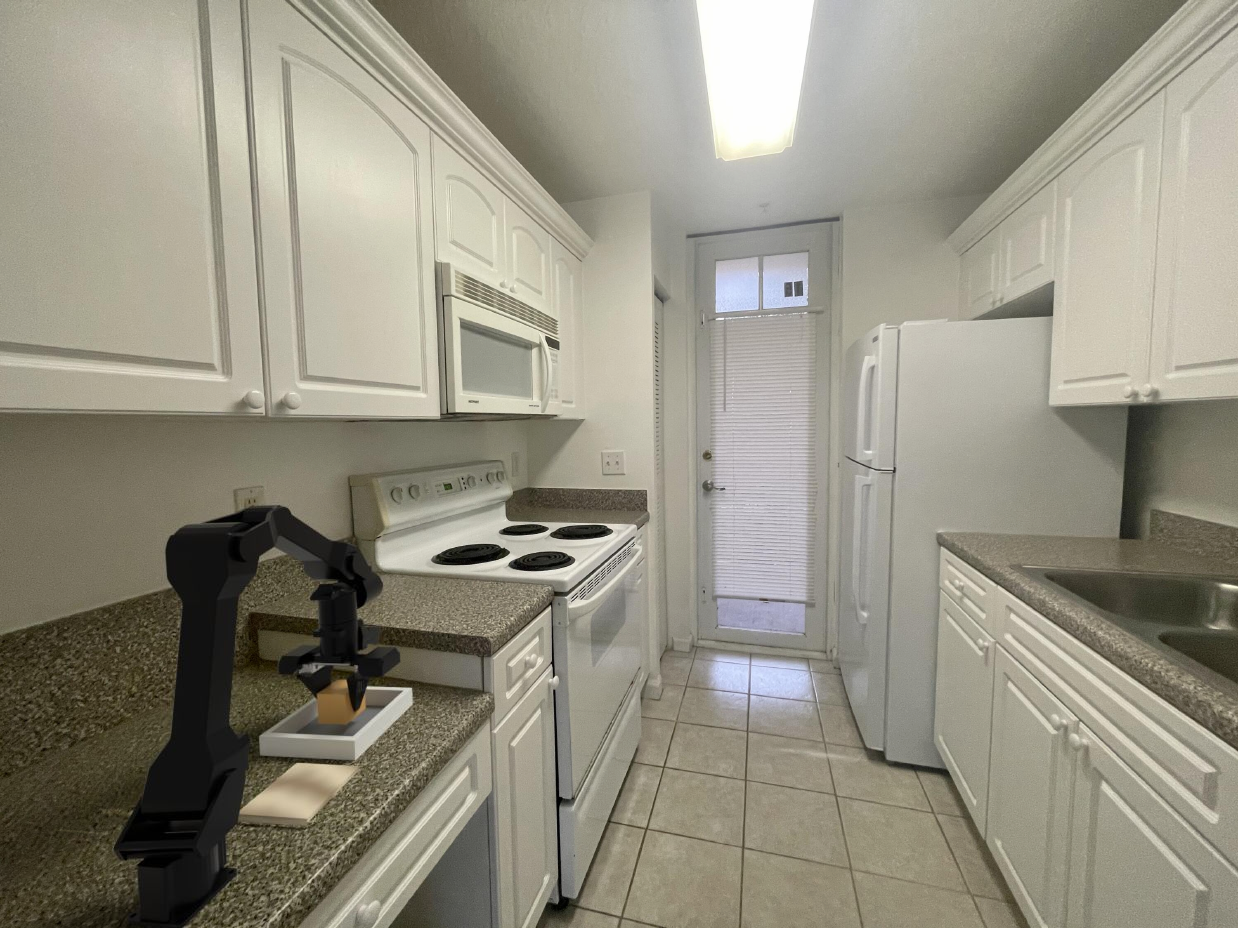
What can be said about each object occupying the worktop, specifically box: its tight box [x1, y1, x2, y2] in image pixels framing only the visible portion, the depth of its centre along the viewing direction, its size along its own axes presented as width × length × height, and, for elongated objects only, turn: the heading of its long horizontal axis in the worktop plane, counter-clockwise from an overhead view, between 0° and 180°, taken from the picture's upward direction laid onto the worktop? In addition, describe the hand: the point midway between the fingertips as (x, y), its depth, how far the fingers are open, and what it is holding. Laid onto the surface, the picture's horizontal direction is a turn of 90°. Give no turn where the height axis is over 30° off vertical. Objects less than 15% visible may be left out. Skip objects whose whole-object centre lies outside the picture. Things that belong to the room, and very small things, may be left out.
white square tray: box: [258, 685, 414, 761], centre depth 81 cm, size 16×16×4 cm
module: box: [317, 678, 366, 725], centre depth 81 cm, size 5×5×5 cm
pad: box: [238, 762, 360, 827], centre depth 66 cm, size 10×10×1 cm
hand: (342, 709), depth 81 cm, fingers closed on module, 5 cm apart
